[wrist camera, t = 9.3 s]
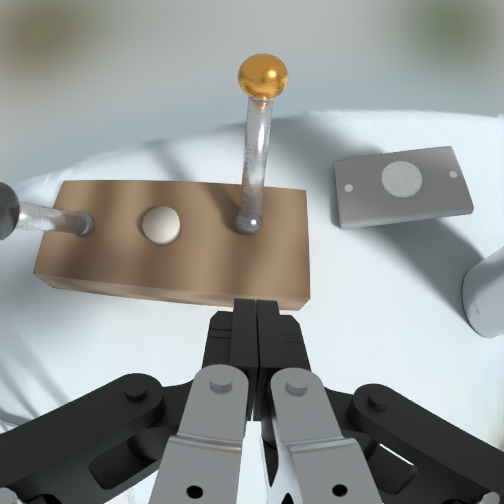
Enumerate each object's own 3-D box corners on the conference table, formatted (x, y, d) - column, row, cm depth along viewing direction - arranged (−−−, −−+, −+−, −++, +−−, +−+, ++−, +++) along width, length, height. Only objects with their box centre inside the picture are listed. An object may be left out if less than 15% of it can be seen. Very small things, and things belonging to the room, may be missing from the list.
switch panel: (297, 209, 31) (308, 179, 26) (299, 310, 27) (314, 293, 22) (78, 198, 30) (60, 170, 25) (53, 287, 26) (25, 268, 21)
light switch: (331, 155, 32) (452, 139, 26) (341, 185, 37) (448, 171, 31) (337, 220, 29) (476, 203, 23) (346, 246, 34) (466, 231, 28)
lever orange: (267, 223, 26) (288, 55, 17) (268, 246, 24) (294, 57, 15) (229, 220, 26) (240, 51, 17) (226, 243, 23) (238, 52, 15)
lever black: (105, 207, 24) (-2, 175, 10) (102, 244, 24) (-9, 243, 10) (75, 207, 24) (-35, 179, 10) (73, 242, 24) (-42, 239, 10)
